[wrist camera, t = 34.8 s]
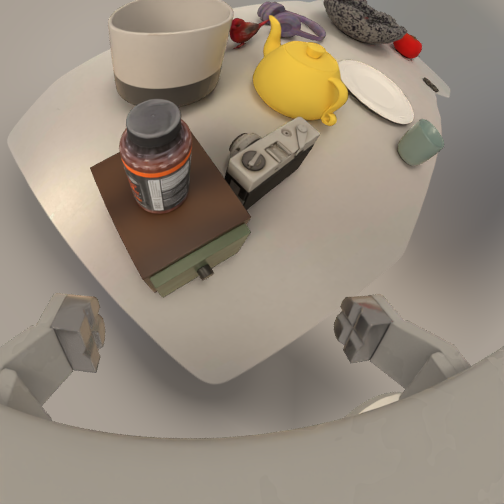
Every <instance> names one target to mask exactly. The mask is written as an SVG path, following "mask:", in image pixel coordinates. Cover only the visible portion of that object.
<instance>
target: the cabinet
mask: <svg viewBox="0 0 504 504" xmlns="http://www.w3.org/2000/svg"><path fill="white" fill-rule="evenodd" d="M191 135H192V152H191V167H190V182H189V190H188V194H187V197H186V199H185V200H184V202H183V203H182V204H181V205H180V206H179V207H178V208H176V209H174V210H173V211H170V212H168V213H162V214H158V213H151V212H148V211H146V210H144V209H143V208H142V207H141V206H140V205H139V204H138V203H137V201H136V200H135V198H134V196H133V193H132V189H131V186H130V184H129V180H128V177H127V174H126V172H125V168H124V165H123V162H122V158H121V155H120V152H119V153H117V154H115V155H113V156H111V157H109V158H107V159H105V160H103V161H102V162H100V163H98V164H96V165H94V166H93V167H91V168H90V169H91V172H92V174H93V177H94V179H95V182H96V184H97V186H98V189H99V191H100V194H101V196H102V198H103V200H104V203H105V205H106V207H107V209H108V212H109V214H110V216H111V218H112V220H113V222H114V225H115V227H116V229H117V231H118V233H119V235H120V237H121V239H122V241H123V243H124V245H125V247H126V249H127V251H128V253H129V255H130V257H131V259H132V260H133V262H134V264H135V266H136V268H137V270H138V272H139V273H140V275H141V277H142V279H143V280H144V281H145V282H146V284H147V285H148V286H149V287H150V288H151V289H152V290H153V292H157V290H156V289H155V287H154V285H153V283H152V282H151V280H150V278H151V277H153V276H154V275H155V274H157V273H158V272H160V271H162V270H163V269H165V268H167V267H168V266H170V265H172V264H173V263H175V262H177V261H178V260H180V259H182V258H184V257H185V256H187V255H189V254H190V253H192V252H194V251H196V250H197V249H199V248H201V247H203V246H204V245H206V244H208V243H209V242H211V241H213V240H215V239H216V238H218V237H220V236H222V235H224V234H226V233H228V232H230V231H231V230H233V229H235V228H237V227H239V226H240V225H242V224H244V223H245V224H246V225H247V223H248V221H249V220H250V218H251V216H250V215H249V213H248V212H247V210H246V209H245V208H244V206H243V205H242V203H241V202H240V200H239V199H238V197H237V196H236V195H235V193H234V192H233V190H232V189H231V187H230V186H229V184H228V183H227V182H226V180H225V179H224V177H223V176H222V175H221V173H220V172H219V170H218V169H217V167H216V166H215V165H214V163H213V162H212V160H211V159H210V158H209V156H208V155H207V153H206V152H205V150H204V149H203V148H202V146H201V145H200V143H199V142H198V141H197V139H196V138H195V136H194V135H193V134H192V132H191Z"/></svg>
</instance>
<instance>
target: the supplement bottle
mask: <svg viewBox="0 0 504 504" xmlns="http://www.w3.org/2000/svg"><path fill="white" fill-rule="evenodd" d="M126 126H127V128H126V129H125V131H124V132H123V134H122V137H121V139H120V145H119V147H120V155H121V158H122V162H123V165H124V168H125V172H126V174H127V177H128V180H129V184H130V186H131V189H132V193H133V196H134V198H135V200H136V201H137V203H138V204H139V205H140V206H141V207H142V208H143V209H144V210H146V211H148V212H151V213H158V214H162V213H168V212H170V211H173V210H174V209H176V208H178V207H179V206H180V205H181V204H182V203H183V202H184V200H185V199H186V197H187V194H188V190H189V182H190V167H191V152H192V135H191V131H190V129H189V127H188V125H187V124H186V123H185V122H184V121H183V120H182V119H181V113H180V110H179V108H178V107H177V106H176V105H175V104H174V103H173V102H170V101H168V100H163V99H151V100H147V101H144V102H142V103H140V104H138V105H137V106H135V107H134V108H133V109H132V110H131V111H130V112H129V114H128V116H127V119H126Z"/></svg>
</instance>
